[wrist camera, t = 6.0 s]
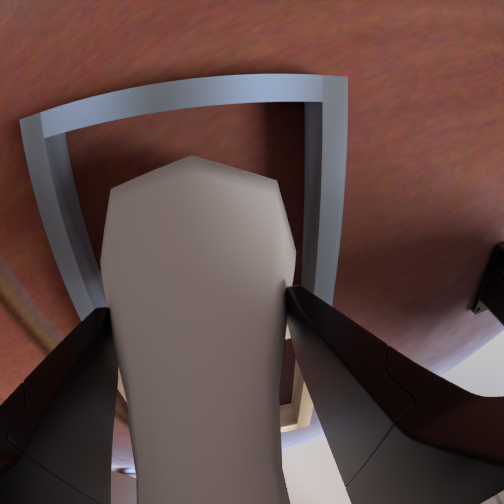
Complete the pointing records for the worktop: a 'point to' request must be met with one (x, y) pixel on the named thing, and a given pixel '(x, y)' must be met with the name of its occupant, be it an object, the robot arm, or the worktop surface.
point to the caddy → (188, 96)
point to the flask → (200, 329)
